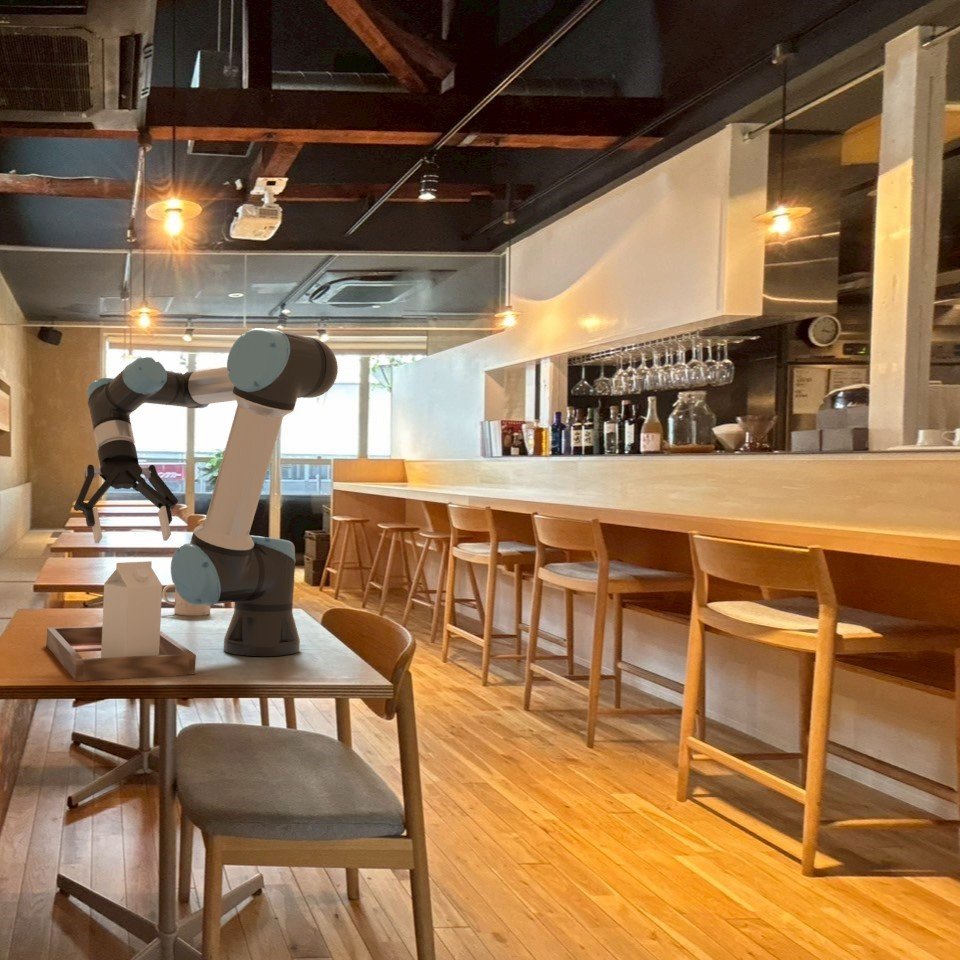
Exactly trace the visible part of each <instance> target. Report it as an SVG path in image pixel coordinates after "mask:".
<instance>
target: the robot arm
mask: <svg viewBox="0 0 960 960" xmlns="http://www.w3.org/2000/svg"><path fill="white" fill-rule="evenodd" d="M338 367H339V365H338V360H337V358H336V355H335V354H334V352H333V350H332V349H331V348H330V347H329V346H328V345H327V344H326V343H325V342H323V341H321V340H320V339H318V338H314V337H311V336H304V335H299V334H294V333H290V332H286V331H282V330H278V329H274V328H268V329H267V328H253V329H250V330H248V331H246V332H245V333H242V334H241V335H240V336H239V337H238V338H237V339H236V340H235V341H234V343H233V345H232V346H231V348H230V350H229V353H228V356H227V361H226V364H225V365H220V366H215V367H207V368H200V369H195V370H187V371H180V370H172V369H166V368H165V367H164V366H163V364H162V363H161V362H160V361H158V360H155V359H154V358H153V356H148V355H144V356H143V355H142V356H139V357H138V358H136V359H134V361H132V362H130V363H129V364H127V365H126V366H125V368H124V369H122V370H121V371H120V372H119V373H118V374H117V375H116V376H115V377H106V376H105V377H100V378H99V379H97V380H94V381H92V382H91V383H90V384H89V385H88V387H87V390H86V391H87V392H86V393H87V399H88V400H87V406H88V408H89V413H90V418H91V423H92V429H93V434H94V440H95V445H96V449H97V457H98V462H99V466H100V467H95V466H94V465H93V464H87V467H86V469H85V471H84V481H83V484H82V486H81V489H80V491H79V494H78V495H77V498H76V501H75V503H74V505H73V510H74V511H76V512H79V511H80V512H82V514H83V515H84V516H85V522H86V526H87V527H90V528H91V529H92V534H93V535H92V536H93V540H94V544H100V543H101V540H102V539H103V532H102V526H101V520H100V516H99V509H98V507H95V506H96V505H97V504H98V502H99V501H100V500H101V498H103V496H104V495H105V494H106V492H107V491H108V490H109V489H110V488H113V489H114V490H119V489H120V490H121V489H124V490H130V489H133V490H134V491H136V492H139V493H140V494H141V495H142V496H143V497H145V498H146V499H147V500H148V501H149V502H151V503H152V504H153V505H154V506H156V507H157V508H158V509H159V510H158V512H157V515H158V520H159V525H160V530H161V534H162V540H163V541H165V542H167V541H168V540H169V538H170V537H171V535H172V531H171V526H170V524H171V523H172V521H173V517H172V511H171V509H172V510H173V509H175V507H176V505H177V504H178V502H179V500H178V498H177V497H176V496H175V494H174V493H173V492H172V490H171V489H170V488H169V487H168V486H167V484H166V482H164V480H163V479H162V478H161V476H160V475H159V474H158V471H157V469H156V466H155V465H154V464H151V465H149V467H142V466H141V465H140V463H139V457H138V452H137V447H136V445H135V443H136V442H135V437H134V432H133V428H132V422H131V417H130V414H131V413H133V412H135V411H136V410H137V409H138V408H140V407H141V405H143V404H152V405H153V404H154V405H162V406H163V405H165V406H173V407H175V406H176V407H180V408H181V407H182V408H187V409H205V408H207V407H208V406H209V405H210V404H218V403H224V402H232V401H234V402H235V401H236V403H237V406H236V409H235V413H234V416H233V421H232V424H231V427H230V431H229V435H228V439H227V441H226V444H225V450H224V452H223V457H222V460H221V462H220V466H219V471H218V472H217V473H218V474H217V476H216V477H217V478H216V480H215V484H214V488H213V492H212V495H211V497H210V498H211V499H210V502H209V506H208V509H207V513H206V515H205V519H204V523H201V524H198V525H197V526H196V527H195V528H193V532H192V535H191V538H190V542H189V543H185V544H183V545H180V547H179V548H177V549H176V550H175V552H174V553H173V556H172V557H171V561H170V562H171V563H170V576H171V581H172V584H174V585H175V587H174V588H175V589H176V591H177V592H178V594H179V595H180V596H181V597H182V598H183V599H184V600H185V601H186V602H188V603H190V604H193V605H208V606H210V607H211V606H214V605H220V604H221V605H222V604H230V603H234V609H233V615H232V617H231V620H230V623H229V625H228V627H227V630H226V633H225V636H224V640H223V651H225V652H226V653H229V654H232V655H238V656H239V655H240V656H248V657H251V656H252V657H279V656H287V655H292V654H293V655H294V654H296V653H299V652H300V649H301V648H300V645H301V641H300V637H299V633H298V628H297V625H296V621H295V618H294V613H293V611H294V610H293V608H294V607H293V604H294V590H295V571H296V547H295V544H294V543H293V542H292V541H290V540H287V539H282V538H275V537H267V536H266V537H265V536H259V535H250V532H251V528H252V525H253V521H254V517H255V515H256V512H257V509H258V504H259V501H260V498H261V493H262V491H263V487H264V483H265V481H266V478H267V477H266V476H267V473H268V470H269V467H270V462H271V460H272V457H273V453H274V449H275V446H276V442H277V439H278V435H279V433H280V432H279V431H280V429H281V426H282V422H283V418H284V417H285V416H288V415H289V414H290V413H292V412H294V410H295V406H296V402H297V400H298V399H300V398H304V399H305V398H306V399H307V398H308V399H310V398H318V397H320V396H323V395H324V394H326V393H327V392H329V391H330V389H331V388H332V387H333V385H334V384H335V382H336V380H337V376H338ZM141 475H143V476H144V478H143V476H141ZM97 476H100V478H101V479H103V480H104V482H103V483H102V484H101V486H100V487H99V488H98V489H97V490H96V491H95V493H94V494H93V496H92V497H91V498H90V499H89V500H88V502H85V500H86V497H87V494H88V491H89V490H90V487H91V485H92V482H93V479H96V478H97ZM146 480H148V481H149V483H150V484H149V483H148V482H147V481H146ZM175 589H174V590H175Z"/></svg>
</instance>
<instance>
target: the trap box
mask: <svg viewBox="0 0 960 960" xmlns="http://www.w3.org/2000/svg"><path fill="white" fill-rule="evenodd" d="M101 646H102V625H96V626H95V625H94V626H93V625H92V626H88V625H87V626H67V627H66V626H64V627H61V626H60V627H46V647H47V648H48V649H49V651H50V652H51V653H52V654H53V655H54V656H55V658H56V660H57V661H58V662H59V663H60V664H61V665H62V666H63V668H64V669H65V670H66V672H67V673H68V674H69V675H70V676H71V678H72V679H73V680H74V681H75V682H83V681H84V682H85V681H88V680H89V681H102V680H103V681H104V680H105V681H106V680H121V678H122V680H123V678H124V679H138V678H139V679H140V678H157V677H158V678H159V677H173V676H174V677H175V676H188V675H187V674H195V675H196V664H197V663H196V661H197V655H196V653H194V652H193V651H191V650H189V649H188V648H187V647H185V646H183V645H182V644H181V643H179V642H178V641H176V640H174V639H173V638H172V637H170V636H169V635H167V634H165V632H162V631H161V630H160V645H159V655H154V656H132V657H111V658H101V657H92V658H91V657H90V658H89V657H87V658H83V657H81V655H80V654H79V653H78V652H83V651H85V652H86V651H87V652H88V651H101Z"/></svg>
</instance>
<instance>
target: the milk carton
mask: <svg viewBox="0 0 960 960" xmlns="http://www.w3.org/2000/svg"><path fill="white" fill-rule="evenodd" d="M103 586H104V587H103V605H102V607H103V608H102V625H101V626H102V646H101V650H100V658H111V657H132V656H154V655H160V653H159V645H160V631H161V623H162V621H161V620H162V619H161V618H162V617H161V616H162V600H163V599H162V597H163V595H162V592H163V584H162V582H161V581H160V579H159V578H158V575H157V574H156V572H155V571H154V569H153V567H152V561H131V562H128V561H126V562H116V566H115V570H114V571H113V572H112V573H111V574H110V576H109V577H108V578H107V580H105V582H104V583H103Z"/></svg>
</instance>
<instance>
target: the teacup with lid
mask: <svg viewBox="0 0 960 960" xmlns="http://www.w3.org/2000/svg"><path fill="white" fill-rule="evenodd" d="M170 588H175V585H174V583H170V584H167V585H166V586H164V588H162V597H163V600H164V602H165V603H166V604H168V605H174V607H173V609H174V611H173V613H174V614H175V615H178V616H187V617H192V616H193V617H199V616H201V617H202V616H206V615H209V614H211V606H208V605H193V604H190V603H188V602H186V601H185V600H184V599H183V598H182V597H181V596H180V595H179V594H178V592H177V591H176V589H174V590H175V591H174V592H175V593H174V601H171V600H169V599H168V597H167V590H168V589H170Z"/></svg>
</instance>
